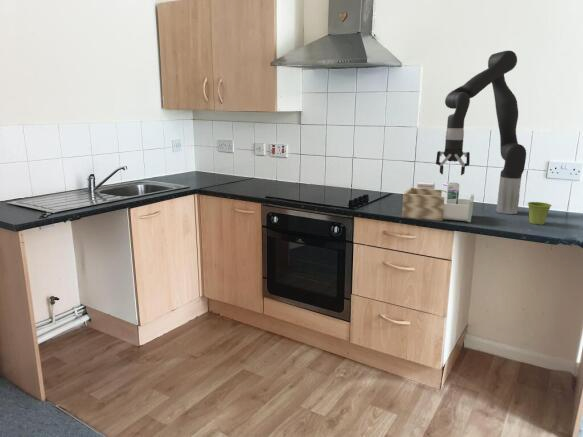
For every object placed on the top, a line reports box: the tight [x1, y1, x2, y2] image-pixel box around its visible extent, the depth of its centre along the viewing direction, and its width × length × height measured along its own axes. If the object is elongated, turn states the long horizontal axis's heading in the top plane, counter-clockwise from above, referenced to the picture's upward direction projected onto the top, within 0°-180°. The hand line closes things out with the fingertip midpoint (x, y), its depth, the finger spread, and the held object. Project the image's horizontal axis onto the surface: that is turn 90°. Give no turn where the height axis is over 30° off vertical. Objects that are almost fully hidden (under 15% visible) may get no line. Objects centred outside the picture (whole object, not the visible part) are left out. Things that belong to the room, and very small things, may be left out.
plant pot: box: [527, 201, 552, 226], centre depth 210 cm, size 9×9×9 cm
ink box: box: [416, 181, 436, 190], centre depth 245 cm, size 8×5×12 cm, turn 69°
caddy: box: [401, 187, 445, 222], centre depth 223 cm, size 18×18×11 cm
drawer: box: [443, 193, 475, 223], centre depth 219 cm, size 18×18×9 cm
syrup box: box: [441, 181, 460, 204], centre depth 218 cm, size 6×6×14 cm
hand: (451, 174), depth 216 cm, fingers open, 8 cm apart
